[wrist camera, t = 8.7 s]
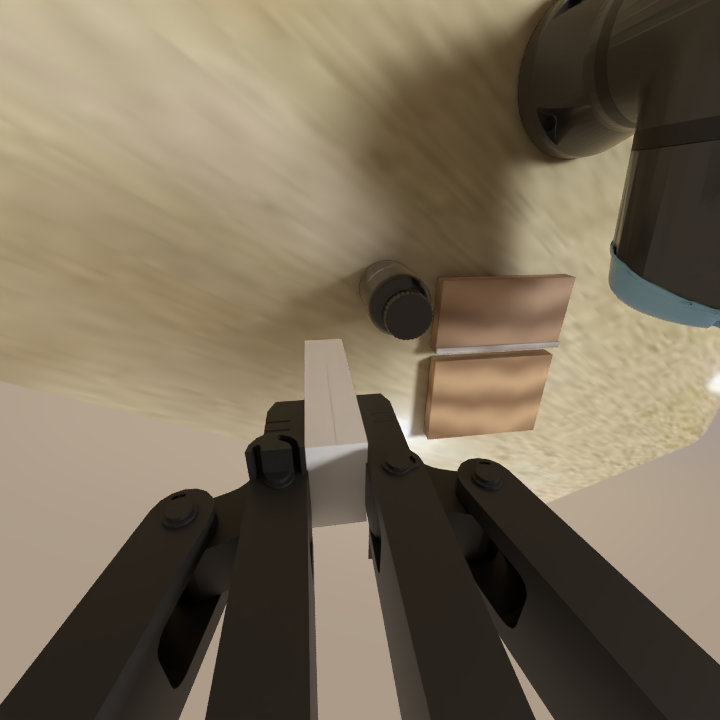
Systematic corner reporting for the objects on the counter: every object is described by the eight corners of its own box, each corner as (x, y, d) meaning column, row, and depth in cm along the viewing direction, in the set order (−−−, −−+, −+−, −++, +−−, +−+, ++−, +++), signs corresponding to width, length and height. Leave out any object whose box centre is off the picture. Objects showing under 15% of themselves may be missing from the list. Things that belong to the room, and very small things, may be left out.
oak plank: (431, 356, 49) (435, 361, 47) (543, 349, 51) (552, 354, 49) (423, 431, 54) (427, 439, 53) (525, 422, 57) (533, 429, 55)
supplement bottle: (371, 250, 41) (395, 270, 31) (419, 271, 43) (457, 297, 33) (349, 301, 44) (364, 336, 33) (396, 319, 46) (423, 358, 35)
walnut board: (438, 277, 44) (444, 281, 42) (565, 274, 46) (577, 277, 44) (430, 347, 48) (436, 354, 46) (547, 340, 51) (558, 347, 48)
